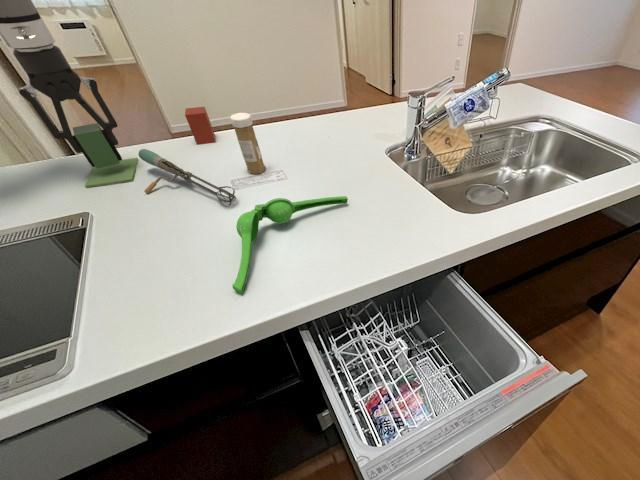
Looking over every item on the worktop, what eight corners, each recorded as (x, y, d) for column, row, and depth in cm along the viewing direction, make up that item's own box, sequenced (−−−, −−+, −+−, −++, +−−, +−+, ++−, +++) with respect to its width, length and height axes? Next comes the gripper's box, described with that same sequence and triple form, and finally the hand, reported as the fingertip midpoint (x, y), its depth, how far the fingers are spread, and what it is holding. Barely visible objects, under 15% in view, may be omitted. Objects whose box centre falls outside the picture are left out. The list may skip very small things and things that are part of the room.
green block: (94, 160, 86) (72, 127, 80) (117, 155, 88) (97, 122, 82) (96, 168, 83) (74, 135, 77) (120, 163, 85) (100, 129, 79)
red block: (197, 137, 103) (185, 108, 97) (215, 135, 104) (204, 106, 98) (197, 144, 99) (184, 115, 94) (215, 142, 101) (204, 112, 95)
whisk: (219, 236, 78) (200, 219, 72) (128, 186, 87) (105, 167, 81) (248, 201, 81) (232, 182, 75) (158, 156, 90) (137, 136, 84)
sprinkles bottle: (269, 168, 91) (254, 114, 81) (257, 176, 88) (240, 120, 78) (255, 164, 92) (239, 110, 82) (243, 172, 89) (225, 116, 79)
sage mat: (95, 165, 90) (94, 163, 90) (138, 159, 93) (137, 157, 92) (86, 188, 83) (84, 185, 82) (133, 181, 85) (131, 178, 85)
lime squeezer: (242, 295, 60) (230, 269, 56) (195, 272, 64) (180, 245, 59) (350, 204, 80) (348, 179, 76) (310, 190, 84) (305, 165, 79)
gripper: (-27, 58, 62) (64, 177, 80) (90, 45, 70) (149, 157, 87) (-24, 49, 66) (61, 165, 84) (86, 38, 74) (144, 146, 91)
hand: (106, 161), depth 85 cm, fingers closed on green block, 5 cm apart
